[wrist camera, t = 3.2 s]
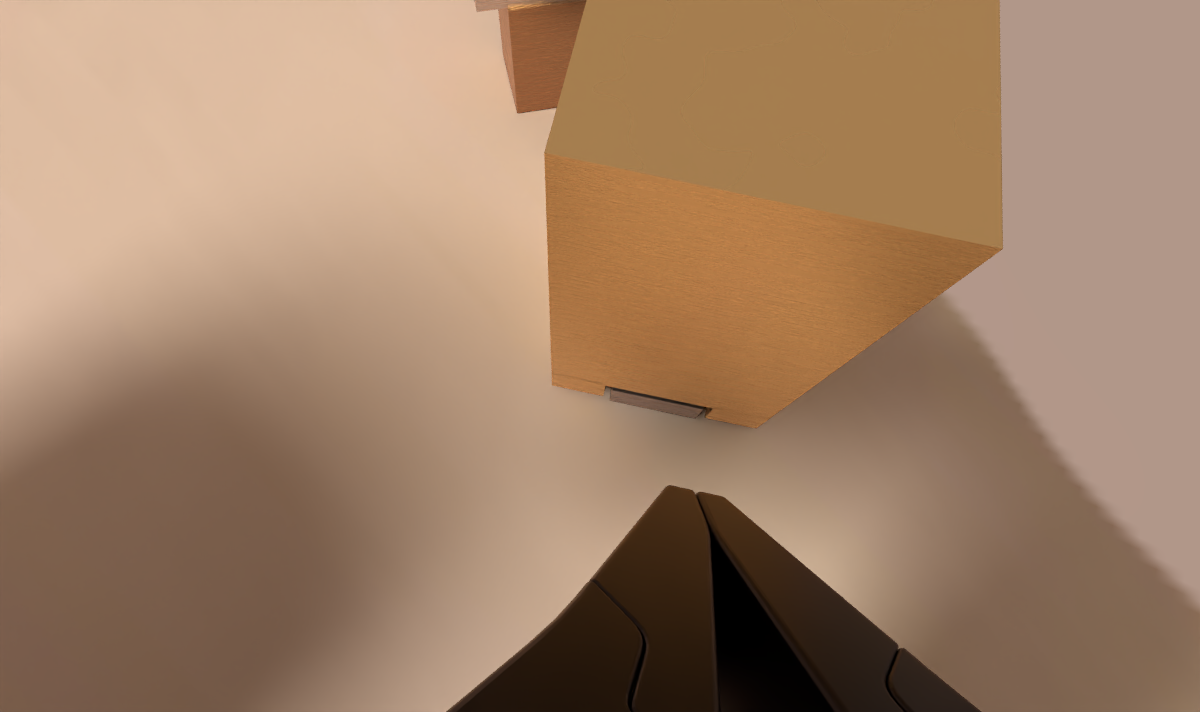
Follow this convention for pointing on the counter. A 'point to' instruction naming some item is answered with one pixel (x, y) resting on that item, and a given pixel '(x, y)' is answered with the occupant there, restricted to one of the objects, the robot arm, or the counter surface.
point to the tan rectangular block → (764, 189)
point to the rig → (553, 96)
